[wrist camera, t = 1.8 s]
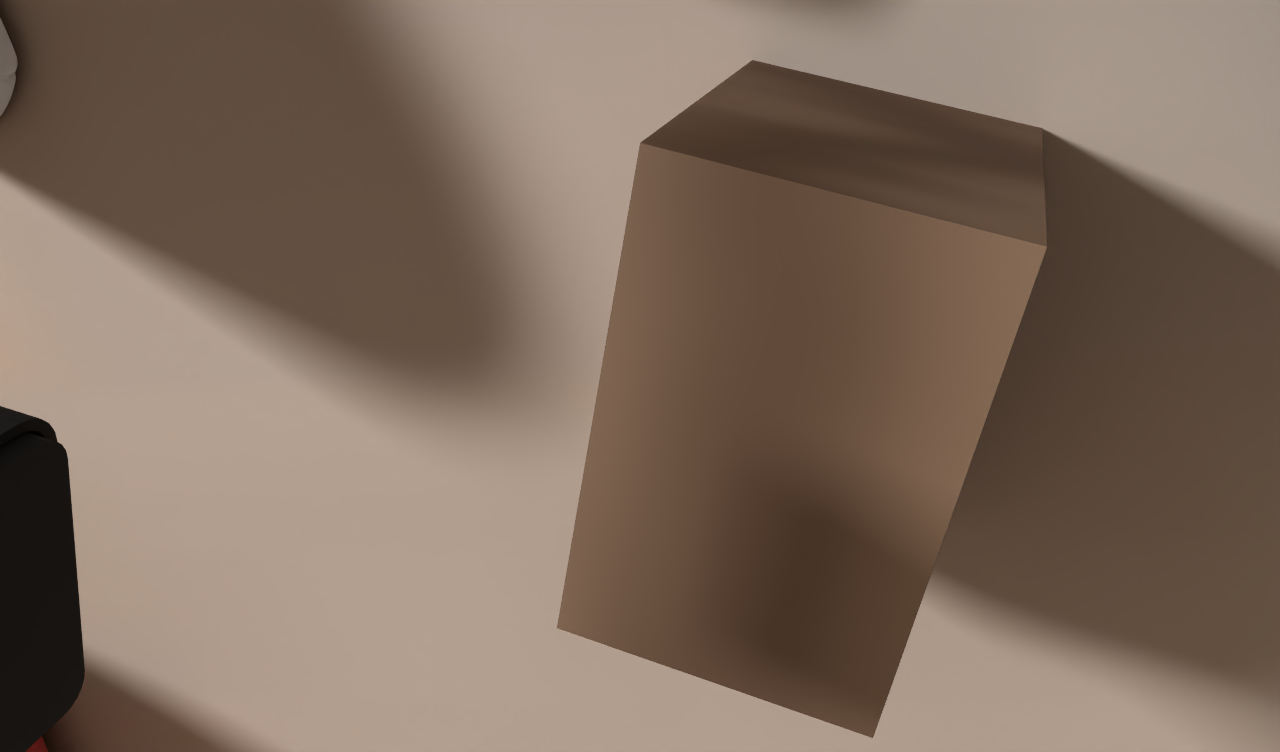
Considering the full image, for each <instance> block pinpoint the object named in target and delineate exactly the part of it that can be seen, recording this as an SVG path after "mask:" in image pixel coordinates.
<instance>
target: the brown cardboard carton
mask: <svg viewBox="0 0 1280 752" xmlns="http://www.w3.org/2000/svg"><path fill="white" fill-rule="evenodd" d="M1046 249H1047V229H1046V207H1045V184H1044V161H1043V138H1042V128H1038V127H1034V126H1030V125H1026V124H1021V123H1017V122H1013V121H1009V120H1004V119H1000V118H996V117H992V116H987V115H983V114H979V113H975V112H970V111H966V110H962V109H958V108H953V107H949V106H945V105H941V104H936V103H932V102H928V101H924V100H919V99H915V98H911V97H907V96H902V95H898V94H894V93H890V92H885V91H881V90H877V89H873V88H868V87H864V86H860V85H856V84H851V83H847V82H843V81H839V80H834V79H830V78H826V77H822V76H817V75H813V74H809V73H805V72H800V71H796V70H792V69H788V68H783V67H779V66H775V65H771V64H766V63H762V62H758V61H754V60H752V61H751V62H749V63H748V64H747V65H745V66H744V67H743V68H741V69H740V70H738V71H737V72H736V73H734V74H733V75H732V76H730V77H729V78H728V79H726V80H725V81H724V82H722V83H721V84H719V85H718V86H717V87H715V88H714V89H713V90H711V91H710V92H709V93H707V94H706V95H705V96H703V97H702V98H701V99H699V100H698V101H696V102H695V103H694V104H692V105H691V106H690V107H688V108H687V109H686V110H684V111H683V112H682V113H680V114H679V115H677V116H676V117H675V118H673V119H672V120H671V121H669V122H668V123H667V124H665V125H664V126H663V127H661V128H660V129H658V130H657V131H656V132H654V133H653V134H652V135H650V136H649V137H648V138H646V139H645V140H644V141H642V142H641V143H640V148H639V153H638V159H637V165H636V171H635V177H634V182H633V188H632V194H631V200H630V206H629V212H628V217H627V223H626V229H625V235H624V241H623V247H622V252H621V258H620V264H619V270H618V276H617V282H616V287H615V293H614V299H613V305H612V311H611V317H610V322H609V328H608V334H607V340H606V346H605V351H604V357H603V363H602V369H601V375H600V381H599V386H598V392H597V398H596V404H595V410H594V416H593V421H592V427H591V433H590V439H589V445H588V451H587V456H586V462H585V468H584V474H583V480H582V485H581V491H580V497H579V503H578V509H577V515H576V520H575V526H574V532H573V538H572V544H571V550H570V555H569V561H568V567H567V573H566V579H565V585H564V590H563V596H562V602H561V608H560V614H559V619H558V625H557V628H559V629H561V630H564V631H567V632H570V633H573V634H576V635H579V636H582V637H584V638H587V639H590V640H593V641H596V642H599V643H602V644H604V645H607V646H610V647H613V648H616V649H619V650H622V651H625V652H627V653H630V654H633V655H636V656H639V657H642V658H645V659H648V660H650V661H653V662H656V663H659V664H662V665H665V666H668V667H671V668H673V669H676V670H679V671H682V672H685V673H688V674H691V675H693V676H696V677H699V678H702V679H705V680H708V681H711V682H714V683H716V684H719V685H722V686H725V687H728V688H731V689H734V690H737V691H739V692H742V693H745V694H748V695H751V696H754V697H757V698H760V699H762V700H765V701H768V702H771V703H774V704H777V705H780V706H783V707H785V708H788V709H791V710H794V711H797V712H800V713H803V714H805V715H808V716H811V717H814V718H817V719H820V720H823V721H826V722H828V723H831V724H834V725H837V726H840V727H843V728H846V729H849V730H851V731H854V732H857V733H860V734H863V735H866V736H869V737H872V738H873V736H874V733H875V730H876V728H877V725H878V722H879V719H880V716H881V714H882V711H883V708H884V705H885V702H886V699H887V697H888V694H889V691H890V688H891V685H892V683H893V680H894V677H895V674H896V671H897V669H898V666H899V663H900V660H901V657H902V654H903V652H904V649H905V646H906V643H907V640H908V638H909V635H910V632H911V629H912V626H913V623H914V621H915V618H916V615H917V612H918V609H919V607H920V604H921V601H922V598H923V595H924V592H925V590H926V587H927V584H928V581H929V578H930V576H931V573H932V570H933V567H934V564H935V562H936V559H937V556H938V553H939V550H940V547H941V545H942V542H943V539H944V536H945V533H946V531H947V528H948V525H949V522H950V519H951V516H952V514H953V511H954V508H955V505H956V502H957V500H958V497H959V494H960V491H961V488H962V485H963V483H964V480H965V477H966V474H967V471H968V469H969V466H970V463H971V460H972V457H973V455H974V452H975V449H976V446H977V443H978V440H979V438H980V435H981V432H982V429H983V426H984V424H985V421H986V418H987V415H988V412H989V409H990V407H991V404H992V401H993V398H994V395H995V393H996V390H997V387H998V384H999V381H1000V379H1001V376H1002V373H1003V370H1004V367H1005V364H1006V362H1007V359H1008V356H1009V353H1010V350H1011V348H1012V345H1013V342H1014V339H1015V336H1016V333H1017V331H1018V328H1019V325H1020V322H1021V319H1022V317H1023V314H1024V311H1025V308H1026V305H1027V302H1028V300H1029V297H1030V294H1031V291H1032V288H1033V286H1034V283H1035V280H1036V277H1037V274H1038V272H1039V269H1040V266H1041V263H1042V260H1043V257H1044V255H1045V252H1046Z"/></svg>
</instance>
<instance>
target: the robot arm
mask: <svg viewBox="0 0 1280 752" xmlns="http://www.w3.org/2000/svg"><path fill="white" fill-rule="evenodd" d="M84 672H85V668H84V656H83V643H82V631H81V618H80V605H79V593H78V580H77V568H76V555H75V542H74V530H73V517H72V504H71V492H70V479H69V467H68V457H67V453H66V450H65V448H64V447H63V446H62V444H60V443H58V442H57V438H56V434H55V431H54V430H53V428H52V427H51V425H50V424H49V423H48V422H46V421H44V420H42V419H39V418H36V417H33V416H30V415H26V414H23V413H20V412H17V411H14V410H11V409H7V408H4V407H1V406H0V752H26V751H27V750H28V749H29V748H30V747H31V746H32V745H33V744H34V743H35V742H36V741H37V740H38V739H39V738H40V737H41V736H42V735H44V734H45V733H46V732H47V731H48V730H49V729H50V728H51V727H52V726H53V725H54V724H55V723H56V722H57V721H58V720H59V719H60V718H61V717H62V716H64V715H65V713H66V712H67V711H68V710H69V709H70V708H71V706H72V705H73V703H74V702H75V700H76V699H77V697H78V695H79V692H80V690H81V688H82V684H83V681H84Z"/></svg>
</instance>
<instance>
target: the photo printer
mask: <svg viewBox="0 0 1280 752" xmlns="http://www.w3.org/2000/svg"><path fill="white" fill-rule="evenodd" d="M17 65H18V63H17V56H16V54H15V51H14V48H13V45H12V43H11V41H10V38H9V36H8V34H7V32H6V29H5V27H4V25H3V23H2V20H1V18H0V116H1V115H2V114H3V112H4V110H5V109H6V107H7V105H8V103H9V101H10V98H11V96H12V93H13V89H14V86H15V81H16V75H15V71H16V69H17Z"/></svg>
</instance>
